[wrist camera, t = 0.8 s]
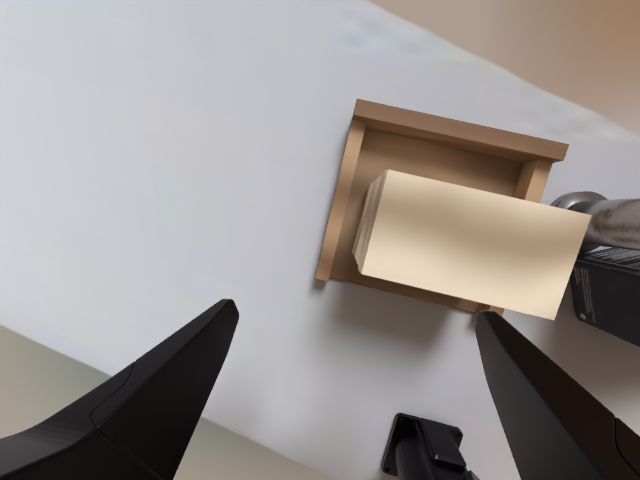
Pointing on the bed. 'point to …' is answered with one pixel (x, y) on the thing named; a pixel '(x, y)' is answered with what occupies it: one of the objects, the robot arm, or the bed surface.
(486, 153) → the bay
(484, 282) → the pale wooden box
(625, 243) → the flanged metal cylinder
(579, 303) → the small box
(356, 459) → the bed surface
